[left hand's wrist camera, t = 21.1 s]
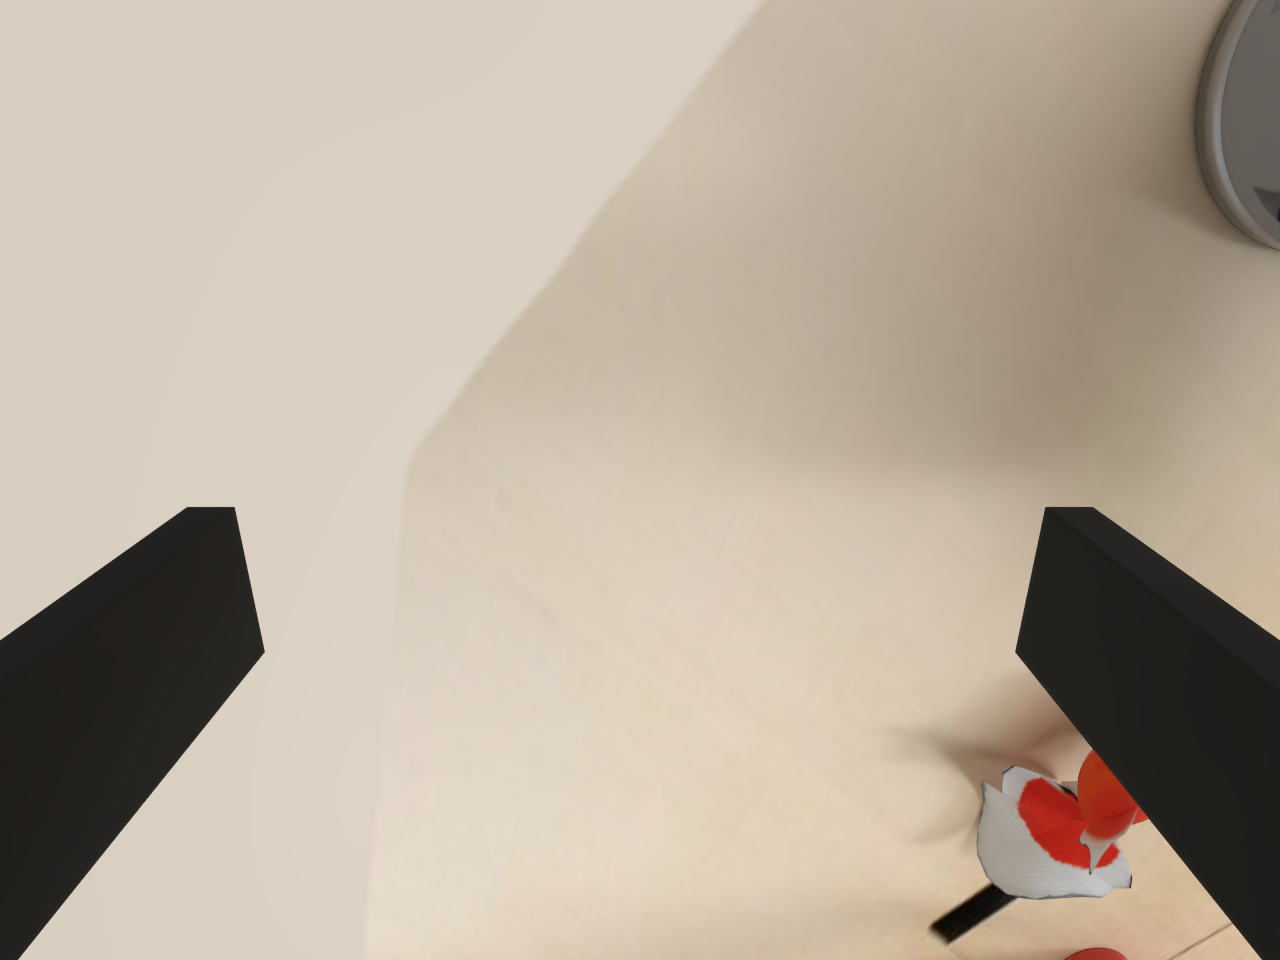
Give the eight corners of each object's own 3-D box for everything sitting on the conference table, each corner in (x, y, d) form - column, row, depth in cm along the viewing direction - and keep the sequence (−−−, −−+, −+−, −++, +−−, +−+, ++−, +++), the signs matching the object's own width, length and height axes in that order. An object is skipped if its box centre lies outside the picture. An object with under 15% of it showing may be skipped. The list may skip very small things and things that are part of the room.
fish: (1281, 814, 44) (1307, 954, 36) (1019, 848, 54) (996, 964, 46) (1180, 656, 44) (1185, 762, 36) (937, 718, 54) (900, 812, 46)
